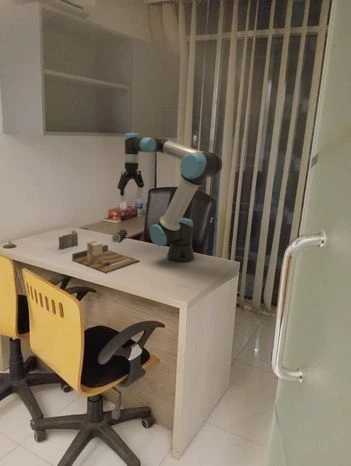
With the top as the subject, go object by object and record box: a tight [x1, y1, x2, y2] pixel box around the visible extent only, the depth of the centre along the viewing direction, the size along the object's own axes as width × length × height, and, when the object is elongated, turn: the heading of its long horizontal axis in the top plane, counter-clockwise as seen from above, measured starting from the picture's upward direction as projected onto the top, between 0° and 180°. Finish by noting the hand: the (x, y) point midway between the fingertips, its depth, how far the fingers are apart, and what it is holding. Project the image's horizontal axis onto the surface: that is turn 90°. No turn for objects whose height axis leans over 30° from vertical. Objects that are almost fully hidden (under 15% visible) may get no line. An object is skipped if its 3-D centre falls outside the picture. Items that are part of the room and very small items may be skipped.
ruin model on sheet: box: [58, 229, 79, 250], centre depth 214 cm, size 11×3×10 cm, turn 143°
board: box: [71, 244, 141, 274], centre depth 194 cm, size 26×24×4 cm
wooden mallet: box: [86, 240, 110, 266], centre depth 187 cm, size 13×5×10 cm, turn 53°
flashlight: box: [111, 228, 128, 243], centre depth 236 cm, size 15×5×5 cm, turn 169°
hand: (131, 200), depth 206 cm, fingers open, 13 cm apart
